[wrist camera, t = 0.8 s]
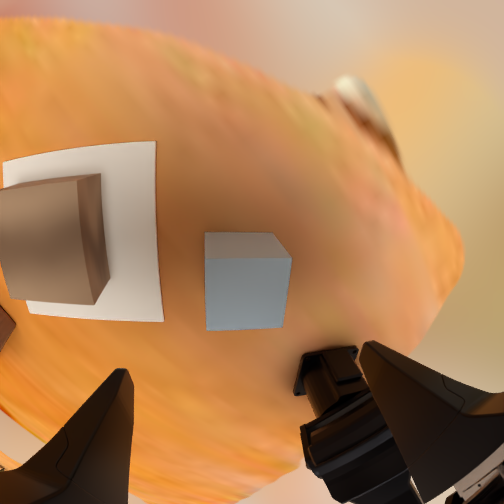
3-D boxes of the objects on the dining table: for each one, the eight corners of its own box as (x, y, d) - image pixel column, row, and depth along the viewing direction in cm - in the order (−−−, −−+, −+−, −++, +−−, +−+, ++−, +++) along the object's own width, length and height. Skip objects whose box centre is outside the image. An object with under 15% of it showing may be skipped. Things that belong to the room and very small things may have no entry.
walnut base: (110, 278, 19) (94, 305, 15) (33, 275, 18) (10, 298, 14) (100, 173, 16) (76, 180, 12) (19, 183, 15) (-11, 193, 11)
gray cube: (266, 290, 22) (282, 327, 18) (204, 292, 21) (206, 330, 17) (272, 232, 20) (292, 258, 16) (204, 231, 20) (205, 258, 15)
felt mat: (164, 319, 21) (163, 321, 21) (31, 310, 19) (30, 313, 19) (156, 141, 16) (155, 141, 16) (5, 161, 14) (2, 162, 14)
